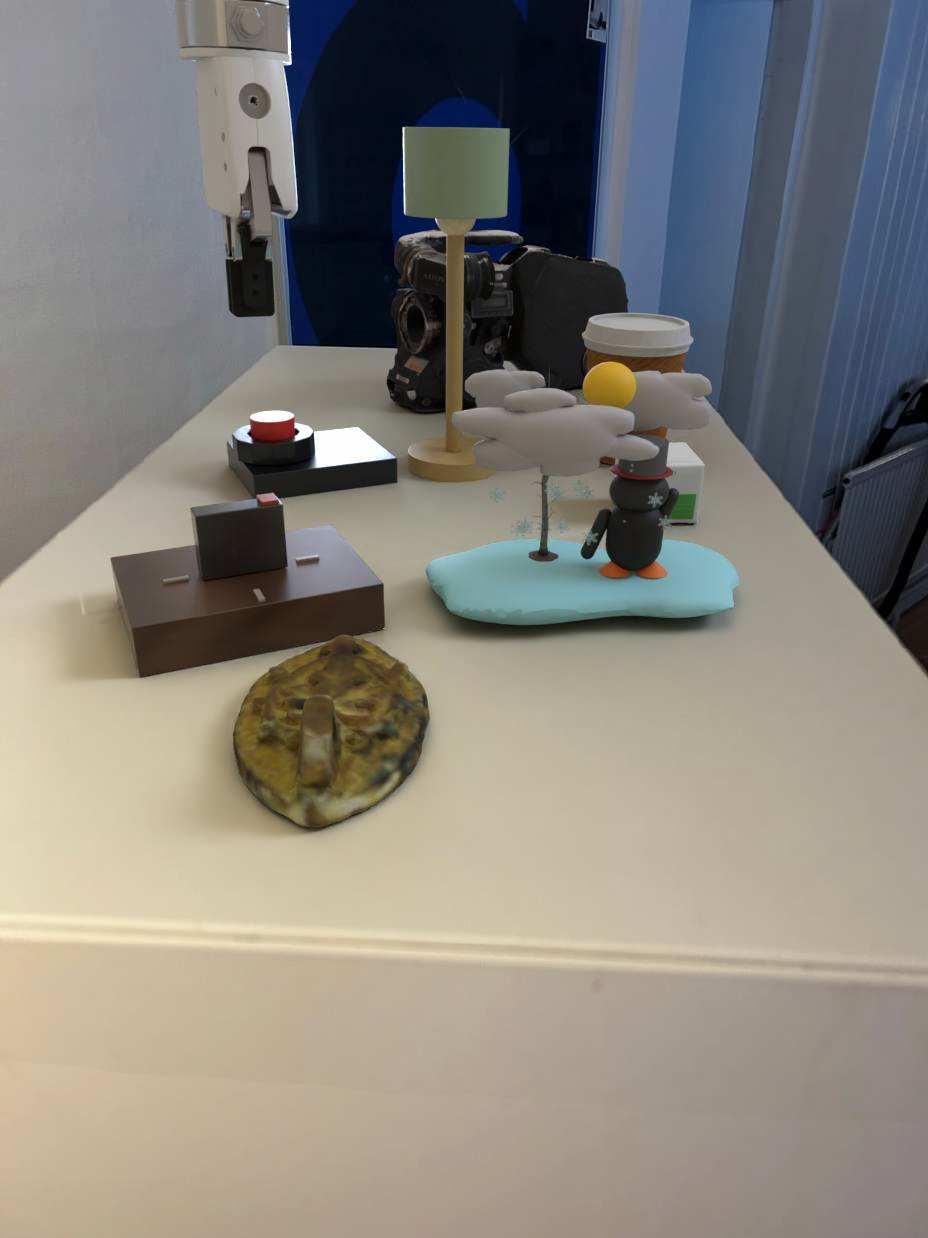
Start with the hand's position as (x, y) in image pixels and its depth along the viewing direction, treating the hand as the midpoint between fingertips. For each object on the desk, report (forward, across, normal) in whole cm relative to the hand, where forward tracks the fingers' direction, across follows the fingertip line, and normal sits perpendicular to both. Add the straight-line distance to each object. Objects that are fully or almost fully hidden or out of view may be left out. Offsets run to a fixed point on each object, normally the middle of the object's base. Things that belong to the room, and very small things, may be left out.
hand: (252, 314), depth 72 cm
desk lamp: (+13, -3, -16) cm, 21 cm away
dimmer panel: (+13, -24, +7) cm, 28 cm away
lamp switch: (+10, 0, -1) cm, 10 cm away
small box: (+13, -19, -26) cm, 35 cm away
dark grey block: (+10, -24, +7) cm, 27 cm away
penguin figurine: (+13, -30, -13) cm, 35 cm away
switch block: (+13, 0, -4) cm, 14 cm away
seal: (+14, -38, +6) cm, 41 cm away
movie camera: (+13, +18, -31) cm, 38 cm away
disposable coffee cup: (+13, -6, -32) cm, 35 cm away
